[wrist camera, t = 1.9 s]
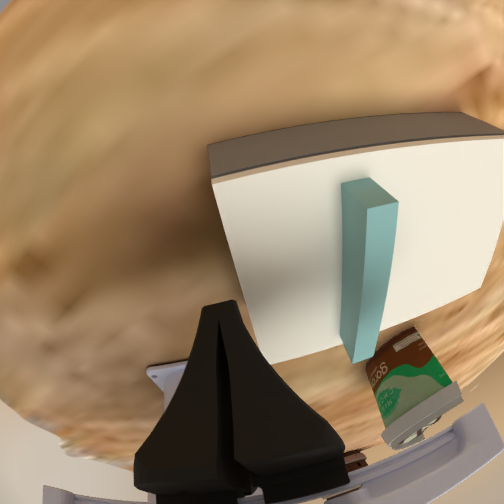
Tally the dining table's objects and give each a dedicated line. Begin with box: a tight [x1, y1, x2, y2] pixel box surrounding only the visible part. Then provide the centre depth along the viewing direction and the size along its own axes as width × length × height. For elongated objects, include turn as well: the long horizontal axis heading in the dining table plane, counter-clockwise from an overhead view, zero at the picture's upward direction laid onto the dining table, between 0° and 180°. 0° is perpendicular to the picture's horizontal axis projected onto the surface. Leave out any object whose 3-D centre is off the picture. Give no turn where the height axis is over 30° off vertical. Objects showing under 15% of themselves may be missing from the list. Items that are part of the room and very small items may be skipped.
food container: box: [366, 327, 463, 450], centre depth 25 cm, size 12×6×10 cm, turn 10°
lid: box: [211, 135, 504, 365], centre depth 12 cm, size 11×16×2 cm
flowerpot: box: [322, 451, 368, 500], centre depth 51 cm, size 14×15×20 cm
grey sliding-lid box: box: [208, 112, 504, 179], centre depth 15 cm, size 11×16×4 cm
